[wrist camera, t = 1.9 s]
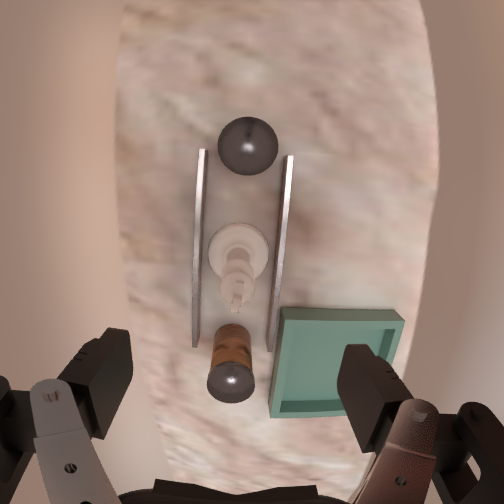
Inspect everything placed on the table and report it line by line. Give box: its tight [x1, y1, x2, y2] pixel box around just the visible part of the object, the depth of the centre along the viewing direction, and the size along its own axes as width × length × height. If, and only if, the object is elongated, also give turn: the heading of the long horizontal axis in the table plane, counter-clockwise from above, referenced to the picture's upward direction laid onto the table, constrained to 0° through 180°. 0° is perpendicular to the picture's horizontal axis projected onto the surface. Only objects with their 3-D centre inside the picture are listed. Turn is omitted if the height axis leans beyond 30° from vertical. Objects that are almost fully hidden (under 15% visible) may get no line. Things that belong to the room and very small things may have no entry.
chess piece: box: [208, 223, 269, 313], centre depth 21 cm, size 5×5×10 cm
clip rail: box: [192, 117, 293, 403], centre depth 22 cm, size 19×7×7 cm, turn 175°
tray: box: [268, 307, 405, 418], centre depth 27 cm, size 11×11×2 cm
